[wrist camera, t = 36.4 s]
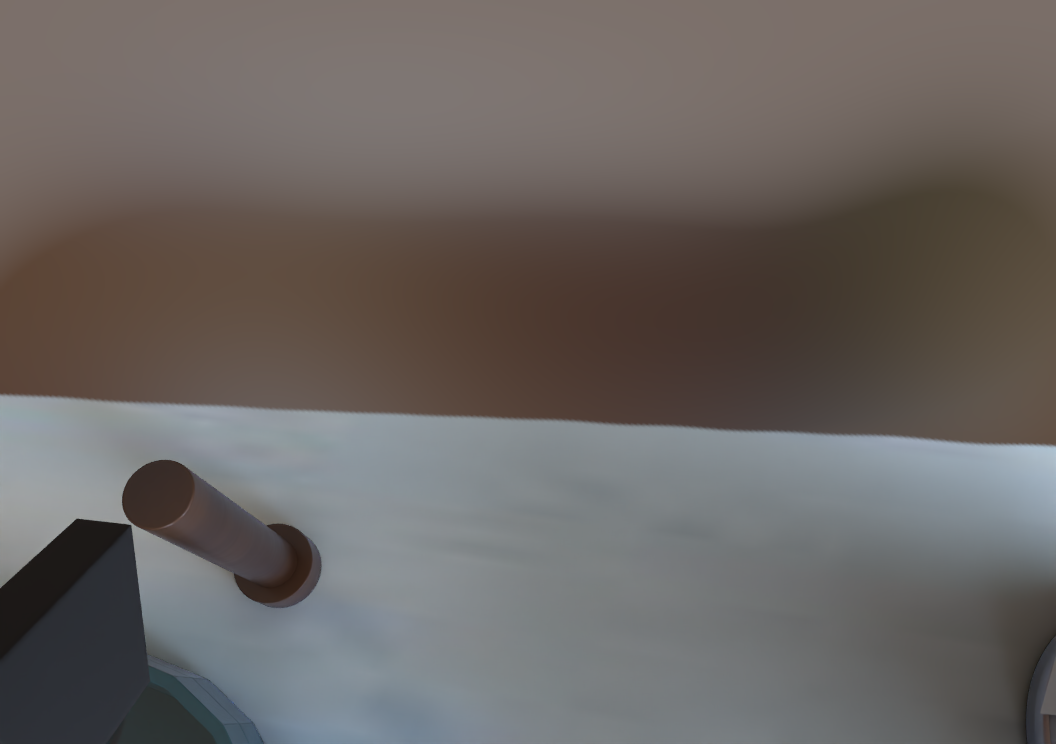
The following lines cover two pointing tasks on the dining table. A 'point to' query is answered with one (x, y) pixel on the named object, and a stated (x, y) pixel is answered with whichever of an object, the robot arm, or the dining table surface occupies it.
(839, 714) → the dining table surface
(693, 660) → the dining table surface
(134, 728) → the bowl
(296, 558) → the pestle
